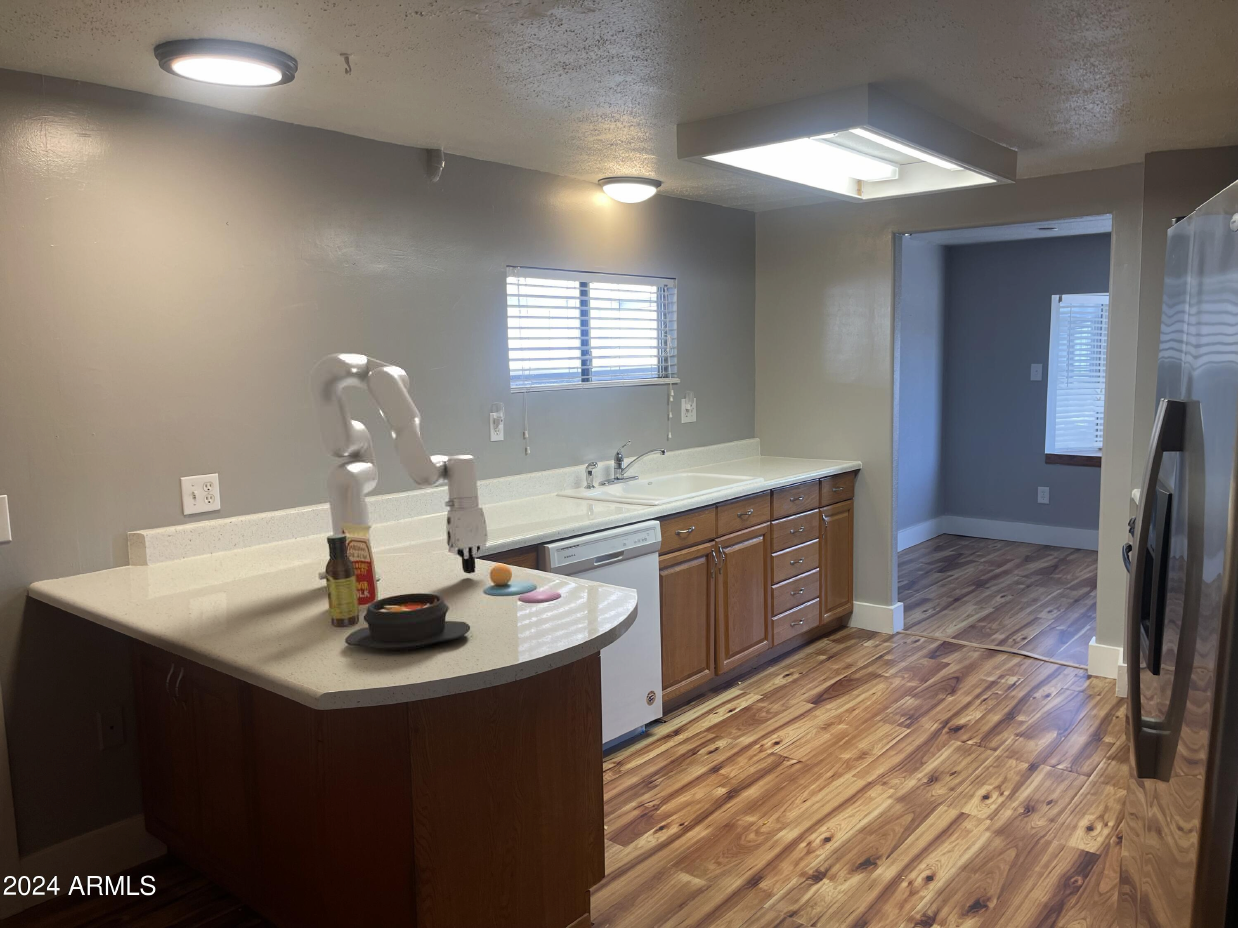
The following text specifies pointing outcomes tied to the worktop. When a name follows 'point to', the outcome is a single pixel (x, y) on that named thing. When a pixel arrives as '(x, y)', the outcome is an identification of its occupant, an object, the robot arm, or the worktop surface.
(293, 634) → the worktop surface
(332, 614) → the sauce bottle
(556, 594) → the disc
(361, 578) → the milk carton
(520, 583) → the disc
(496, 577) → the ball
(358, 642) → the casserole
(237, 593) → the worktop surface
